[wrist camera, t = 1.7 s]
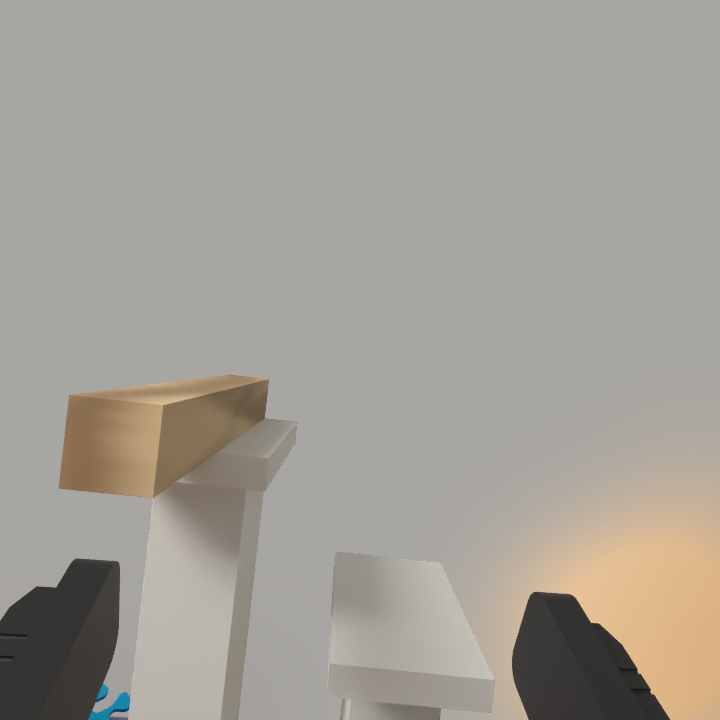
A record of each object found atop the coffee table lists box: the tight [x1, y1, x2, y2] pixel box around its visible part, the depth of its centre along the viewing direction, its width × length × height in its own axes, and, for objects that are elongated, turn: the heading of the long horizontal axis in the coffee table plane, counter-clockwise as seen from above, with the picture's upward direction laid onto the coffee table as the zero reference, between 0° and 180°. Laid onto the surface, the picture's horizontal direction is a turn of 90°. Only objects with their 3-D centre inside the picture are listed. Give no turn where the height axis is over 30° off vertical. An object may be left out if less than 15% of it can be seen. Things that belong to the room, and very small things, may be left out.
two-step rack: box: [128, 418, 494, 720], centre depth 35 cm, size 20×16×32 cm
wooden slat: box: [59, 375, 269, 498], centre depth 31 cm, size 3×25×3 cm, turn 1°
